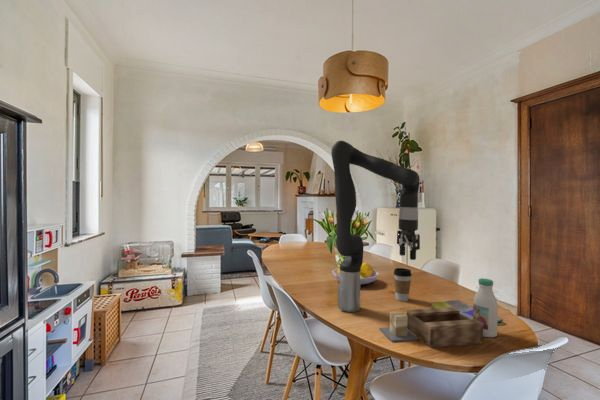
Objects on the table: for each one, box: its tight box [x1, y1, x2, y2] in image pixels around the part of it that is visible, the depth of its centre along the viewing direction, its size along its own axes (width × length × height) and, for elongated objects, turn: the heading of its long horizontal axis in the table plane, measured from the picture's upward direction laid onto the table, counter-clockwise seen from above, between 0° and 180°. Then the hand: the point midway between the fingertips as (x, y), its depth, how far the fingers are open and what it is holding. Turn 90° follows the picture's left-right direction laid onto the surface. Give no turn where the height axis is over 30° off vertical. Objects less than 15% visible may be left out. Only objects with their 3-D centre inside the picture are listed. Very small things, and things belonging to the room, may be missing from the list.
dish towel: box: [430, 299, 505, 327], centre depth 129 cm, size 18×24×3 cm
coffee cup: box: [393, 267, 412, 302], centre depth 147 cm, size 8×8×15 cm
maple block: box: [389, 310, 408, 336], centre depth 109 cm, size 4×4×7 cm
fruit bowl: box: [331, 262, 380, 286], centre depth 178 cm, size 28×27×11 cm
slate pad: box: [378, 326, 419, 343], centre depth 109 cm, size 10×10×1 cm
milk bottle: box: [472, 277, 499, 338], centre depth 111 cm, size 8×8×20 cm
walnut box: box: [406, 307, 484, 349], centre depth 109 cm, size 20×15×7 cm
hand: (407, 257), depth 123 cm, fingers open, 8 cm apart
